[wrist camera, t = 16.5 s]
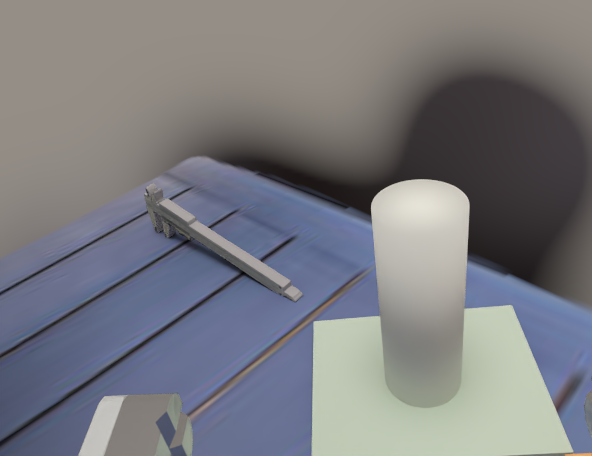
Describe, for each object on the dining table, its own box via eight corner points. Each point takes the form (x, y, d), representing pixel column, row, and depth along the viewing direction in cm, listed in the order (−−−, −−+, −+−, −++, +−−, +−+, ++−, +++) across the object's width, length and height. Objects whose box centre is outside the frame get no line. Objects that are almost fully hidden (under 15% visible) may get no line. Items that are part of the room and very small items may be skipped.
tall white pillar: (389, 410, 34) (375, 238, 26) (381, 350, 38) (367, 185, 30) (469, 404, 34) (480, 227, 25) (452, 344, 38) (457, 174, 30)
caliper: (155, 234, 57) (136, 184, 54) (163, 229, 58) (145, 179, 54) (296, 305, 45) (283, 246, 41) (304, 297, 45) (293, 238, 42)
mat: (312, 469, 32) (311, 465, 32) (314, 325, 42) (313, 321, 42) (572, 457, 30) (573, 452, 30) (511, 310, 40) (511, 305, 40)
